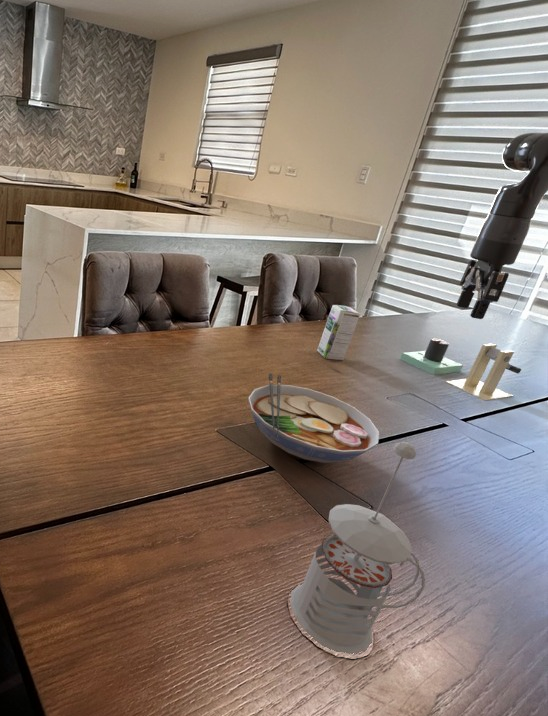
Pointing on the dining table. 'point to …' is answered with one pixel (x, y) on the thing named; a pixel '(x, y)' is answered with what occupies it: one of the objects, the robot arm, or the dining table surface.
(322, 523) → the dining table surface
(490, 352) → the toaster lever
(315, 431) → the ramen bowl
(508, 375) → the dining table surface
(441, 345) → the black sushi roll
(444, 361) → the panel
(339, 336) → the syrup box
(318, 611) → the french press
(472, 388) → the wooden stand
